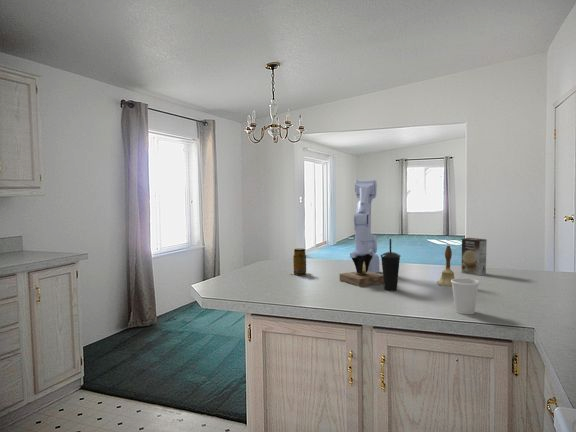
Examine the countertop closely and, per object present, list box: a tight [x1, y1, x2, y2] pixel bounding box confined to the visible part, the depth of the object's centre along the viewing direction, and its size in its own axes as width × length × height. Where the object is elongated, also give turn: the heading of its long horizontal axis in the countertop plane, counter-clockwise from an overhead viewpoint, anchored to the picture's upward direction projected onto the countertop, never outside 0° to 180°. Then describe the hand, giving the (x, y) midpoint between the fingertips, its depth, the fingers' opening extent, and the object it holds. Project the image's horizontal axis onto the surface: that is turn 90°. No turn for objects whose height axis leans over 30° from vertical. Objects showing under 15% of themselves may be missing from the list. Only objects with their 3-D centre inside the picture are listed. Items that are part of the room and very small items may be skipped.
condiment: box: [289, 248, 312, 277], centre depth 203 cm, size 7×8×12 cm
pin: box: [358, 261, 366, 276], centre depth 184 cm, size 4×4×7 cm
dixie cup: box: [451, 277, 480, 315], centre depth 135 cm, size 8×8×10 cm
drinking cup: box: [380, 238, 401, 292], centre depth 168 cm, size 8×8×20 cm
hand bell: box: [436, 245, 456, 287], centre depth 175 cm, size 8×8×16 cm
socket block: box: [339, 271, 384, 287], centre depth 184 cm, size 14×14×3 cm
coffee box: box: [460, 237, 488, 276], centre depth 197 cm, size 9×6×16 cm
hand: (362, 272), depth 184 cm, fingers closed on pin, 3 cm apart
